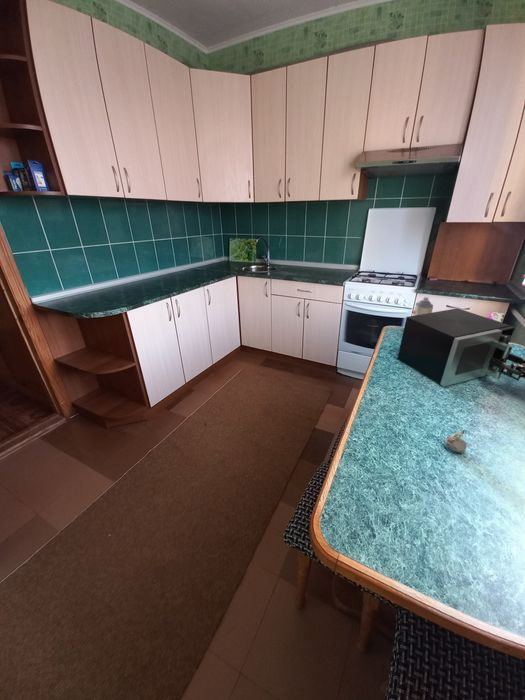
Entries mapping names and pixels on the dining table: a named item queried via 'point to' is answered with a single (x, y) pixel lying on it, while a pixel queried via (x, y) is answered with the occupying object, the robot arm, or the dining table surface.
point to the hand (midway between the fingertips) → (499, 358)
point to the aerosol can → (423, 307)
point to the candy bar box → (496, 316)
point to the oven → (443, 338)
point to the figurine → (456, 443)
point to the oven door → (474, 357)
